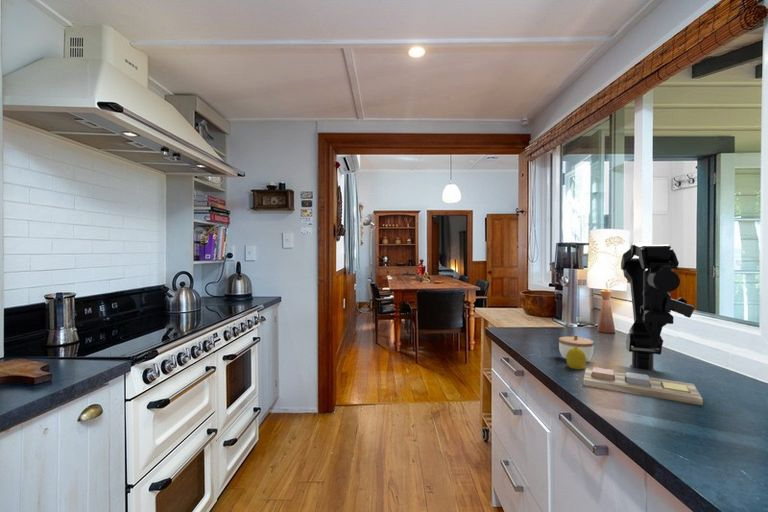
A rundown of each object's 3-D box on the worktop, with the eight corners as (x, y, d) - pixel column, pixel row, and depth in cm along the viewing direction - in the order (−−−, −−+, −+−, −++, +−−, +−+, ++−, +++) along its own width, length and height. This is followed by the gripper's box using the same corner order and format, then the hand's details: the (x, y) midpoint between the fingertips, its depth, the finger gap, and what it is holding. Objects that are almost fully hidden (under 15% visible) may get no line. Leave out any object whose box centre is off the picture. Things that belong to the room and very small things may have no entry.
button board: (585, 377, 110) (586, 367, 110) (693, 395, 97) (693, 383, 97) (583, 390, 100) (583, 379, 100) (702, 411, 87) (702, 398, 87)
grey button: (626, 382, 102) (626, 371, 102) (648, 386, 100) (648, 375, 100) (626, 388, 98) (626, 376, 98) (649, 391, 95) (649, 380, 95)
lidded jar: (570, 356, 134) (570, 330, 134) (600, 364, 125) (600, 336, 125) (551, 360, 129) (552, 333, 128) (581, 368, 119) (581, 340, 119)
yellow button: (661, 392, 98) (661, 381, 98) (685, 396, 95) (685, 385, 95) (664, 399, 94) (664, 387, 94) (689, 403, 91) (689, 391, 91)
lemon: (588, 375, 113) (588, 349, 113) (569, 374, 114) (569, 348, 114) (582, 370, 118) (582, 345, 118) (564, 368, 119) (564, 344, 119)
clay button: (593, 377, 106) (593, 367, 106) (613, 380, 104) (613, 370, 104) (592, 382, 102) (592, 371, 102) (613, 385, 100) (613, 374, 100)
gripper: (699, 293, 92) (698, 355, 92) (686, 287, 108) (685, 340, 108) (644, 290, 98) (644, 349, 98) (640, 285, 114) (639, 335, 114)
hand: (655, 343), depth 104 cm, fingers closed
